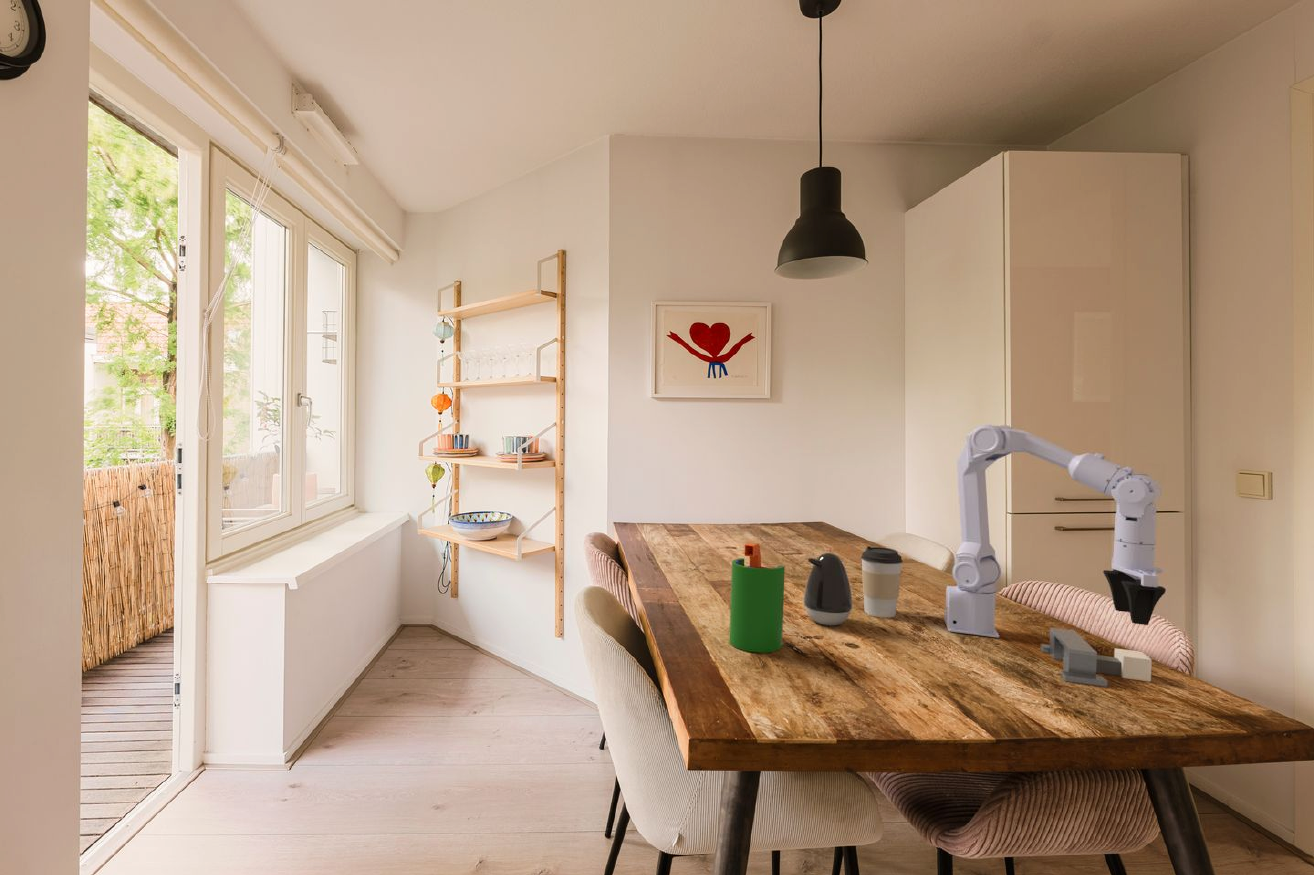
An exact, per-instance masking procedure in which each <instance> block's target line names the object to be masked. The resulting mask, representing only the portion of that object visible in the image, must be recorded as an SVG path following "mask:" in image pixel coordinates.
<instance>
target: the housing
mask: <svg viewBox="0 0 1314 875" xmlns="http://www.w3.org/2000/svg"><path fill="white" fill-rule="evenodd" d="M1040 650H1041V652H1042V651H1043V652H1042V653H1044V654H1049V655H1050V657H1052V659H1053V660H1058V661H1063V665H1062V668H1063V669H1062V670H1061V678H1062V679H1063V681H1064V682H1070V683H1076V684H1082V685H1084V684H1085V685H1090V686H1095V687H1103V688H1108V680H1107V679H1106V678H1105V677H1104V676H1103V675H1102V676H1099V675H1097V672H1096V664H1097V655H1098V652H1097V651H1096V650H1095V649H1094V648H1093V647H1092V646H1091V645H1090V644H1089V643H1088V642H1087V641H1085V639H1084V638H1083V637H1082V636H1081V635H1080V634H1079V633H1078V632H1077V631H1076V630H1074V629H1067V628H1066V629H1065V628H1057V627H1049V644H1044V643H1040Z"/></svg>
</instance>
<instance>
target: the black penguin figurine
mask: <svg viewBox="0 0 1314 875" xmlns="http://www.w3.org/2000/svg"><path fill="white" fill-rule="evenodd" d="M807 562H808V563H810V564H812V567H811V569H810V572H809V575H808V578H807V581H806V585H805V590H804V596H803V605H804V606H805V610H806V613H807V615H808V616H809V618H810V619H811V620H813V621H814V622H815V623H817V624H819V625H823V626H831V627H833V626H838V625H841V624H843V623H844V622H846V621H847V620H848V618H849V616H850V614H851V611H852V610H853V597H852V596H853V595H852V588H851V584H850V580H849V577H848V576H849V575H848V573H847V570H846V568H845V565H844V563H843V561H842V560H841V558H840V557H839V556H838V555H837V554H835V553H832V552H825V553H822V554H820V555H818V557H817V558H813V557H808V558H807Z"/></svg>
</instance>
